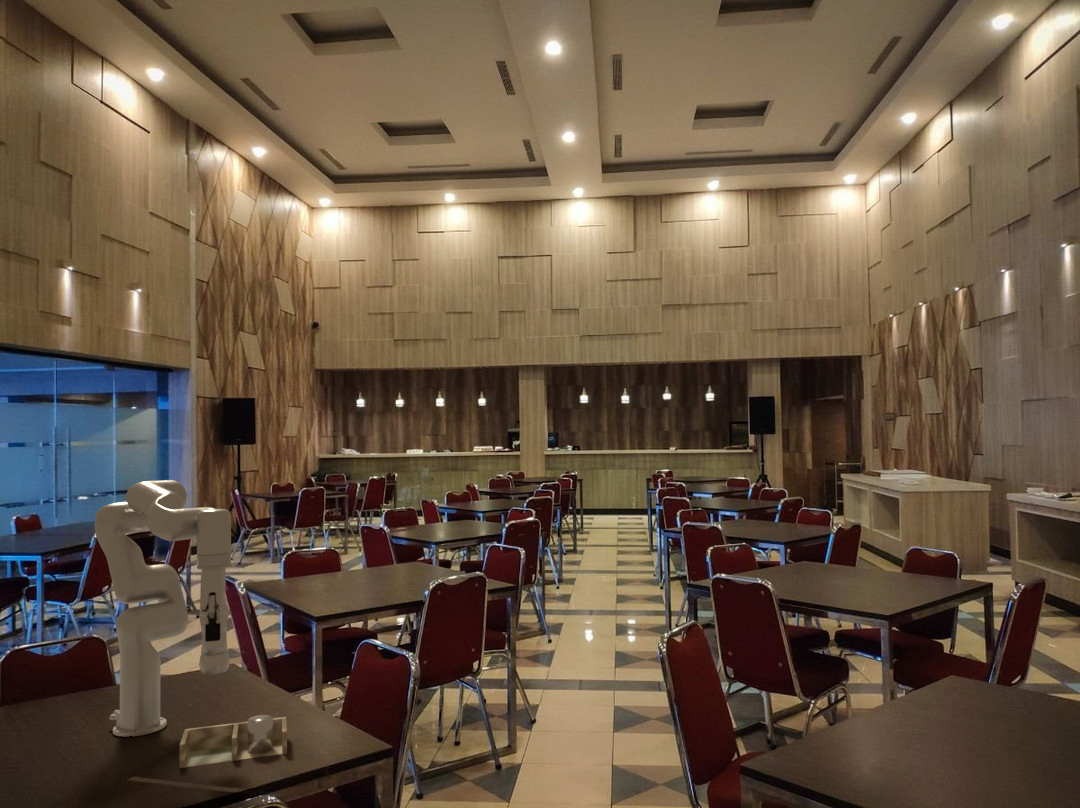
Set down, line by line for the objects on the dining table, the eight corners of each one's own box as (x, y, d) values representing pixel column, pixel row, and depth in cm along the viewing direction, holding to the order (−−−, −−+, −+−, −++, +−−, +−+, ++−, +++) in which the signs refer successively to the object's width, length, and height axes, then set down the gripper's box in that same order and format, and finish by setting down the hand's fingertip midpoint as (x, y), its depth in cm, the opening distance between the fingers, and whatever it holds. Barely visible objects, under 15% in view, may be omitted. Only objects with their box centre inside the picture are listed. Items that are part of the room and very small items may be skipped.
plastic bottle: (230, 675, 186) (230, 589, 187) (198, 679, 183) (198, 591, 184) (229, 668, 192) (229, 585, 193) (199, 672, 189) (199, 587, 190)
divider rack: (179, 771, 178) (179, 744, 178) (184, 754, 188) (184, 729, 189) (286, 756, 185) (286, 731, 185) (286, 740, 195) (286, 716, 196)
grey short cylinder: (242, 752, 186) (243, 722, 186) (255, 743, 191) (255, 714, 191) (265, 754, 185) (265, 724, 185) (276, 745, 190) (277, 715, 190)
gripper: (200, 558, 196) (200, 631, 195) (193, 566, 180) (193, 647, 178) (233, 556, 198) (233, 629, 197) (228, 564, 182) (228, 644, 181)
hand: (214, 637), depth 188 cm, fingers closed on plastic bottle, 6 cm apart
